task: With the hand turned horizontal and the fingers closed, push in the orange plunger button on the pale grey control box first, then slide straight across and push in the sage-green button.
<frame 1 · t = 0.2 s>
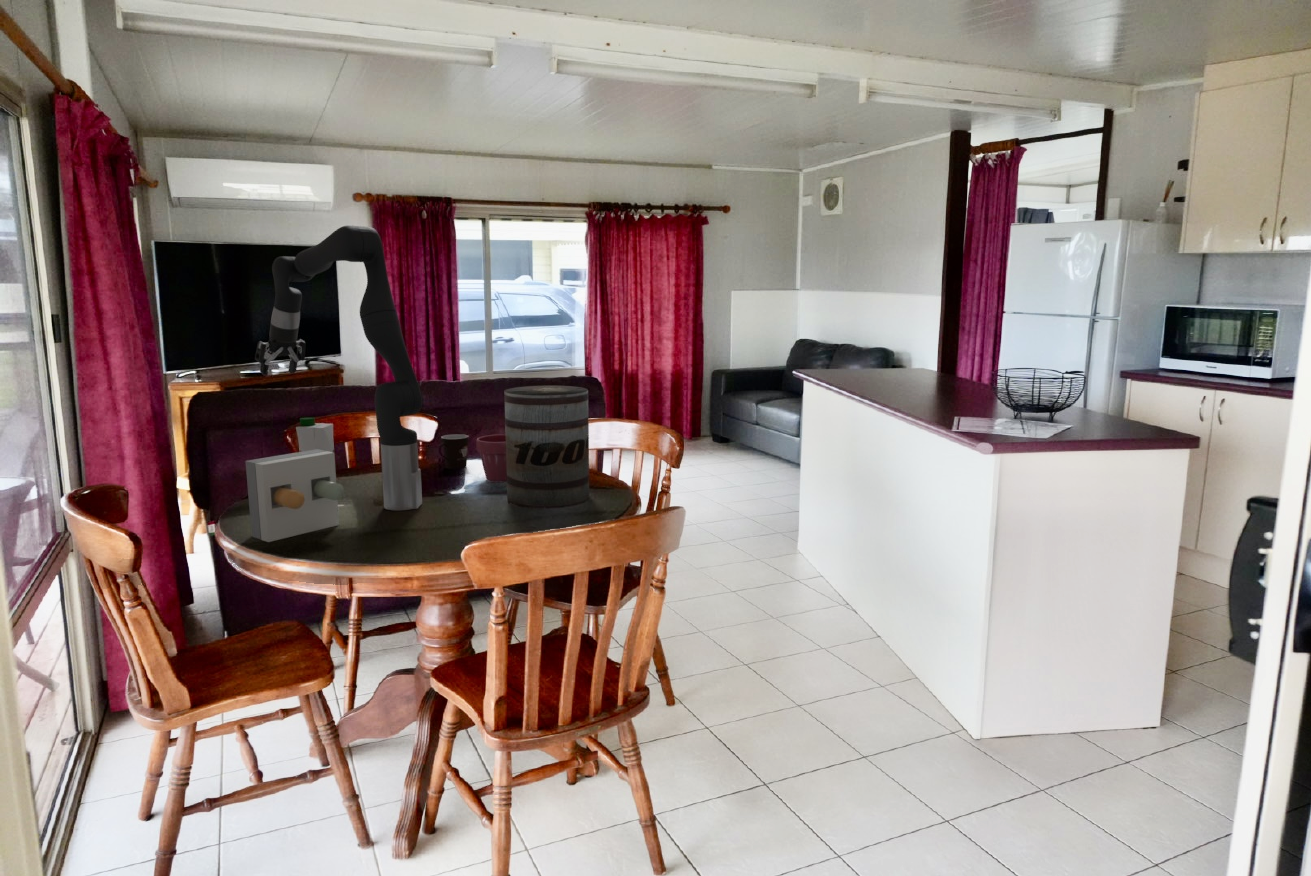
hand: (278, 373, 253), 32 cm above the table, tool tilted 20°, fingers open, 8 cm apart
button sage: (328, 490, 201), point 10 cm above the table, slide at 0.0 cm
barrel: (548, 498, 235), on the table
milk carton: (319, 486, 248), on the table
button orange: (289, 498, 193), point 10 cm above the table, slide at 0.0 cm
control box: (304, 533, 201), on the table
plant pot: (501, 479, 258), on the table
coffee mug: (451, 468, 274), on the table
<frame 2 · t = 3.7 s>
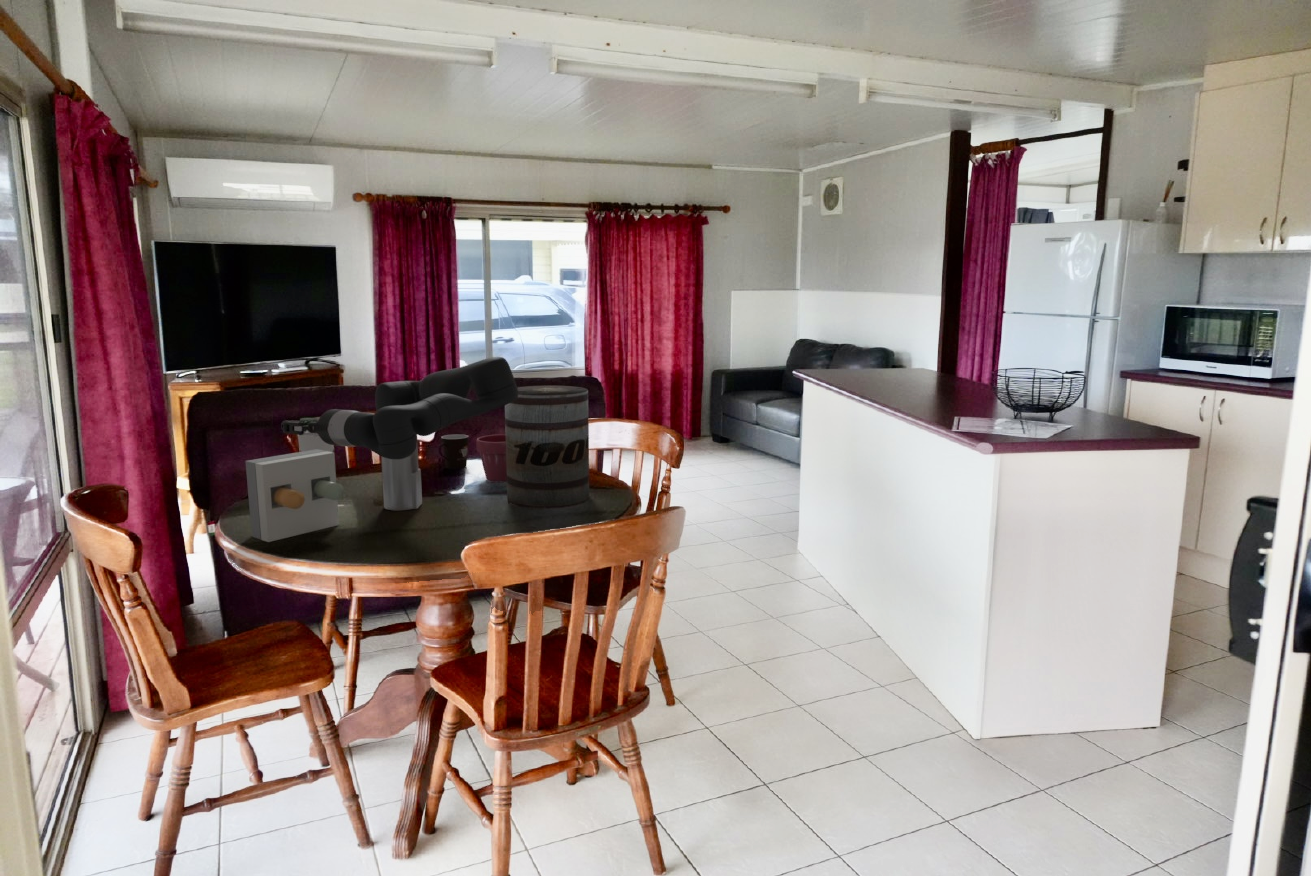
hand: (302, 424, 185), 28 cm above the table, tool horizontal, fingers open, 8 cm apart
nothing on the table moved.
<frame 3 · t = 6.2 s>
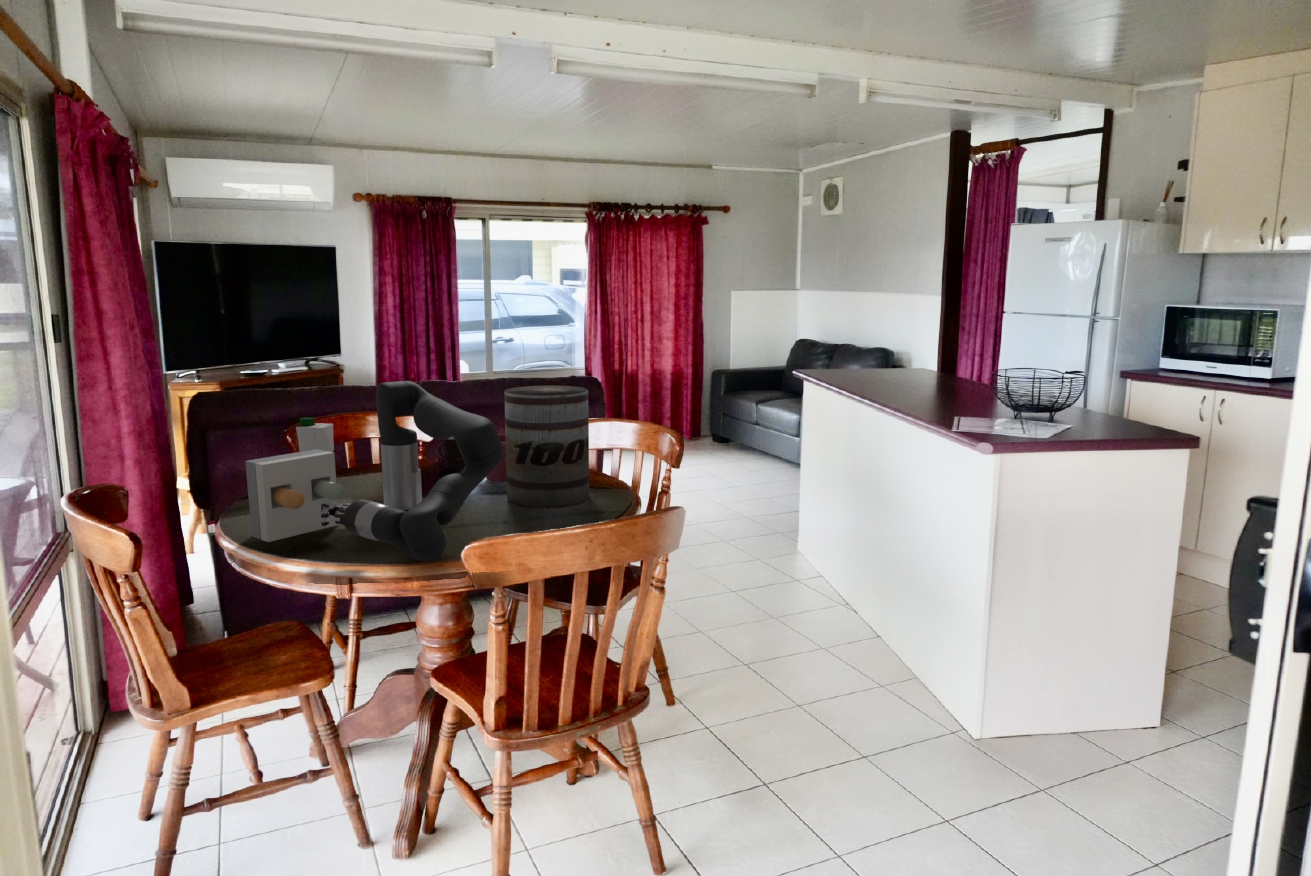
hand: (324, 507, 185), 10 cm above the table, tool horizontal, fingers closed
nothing on the table moved.
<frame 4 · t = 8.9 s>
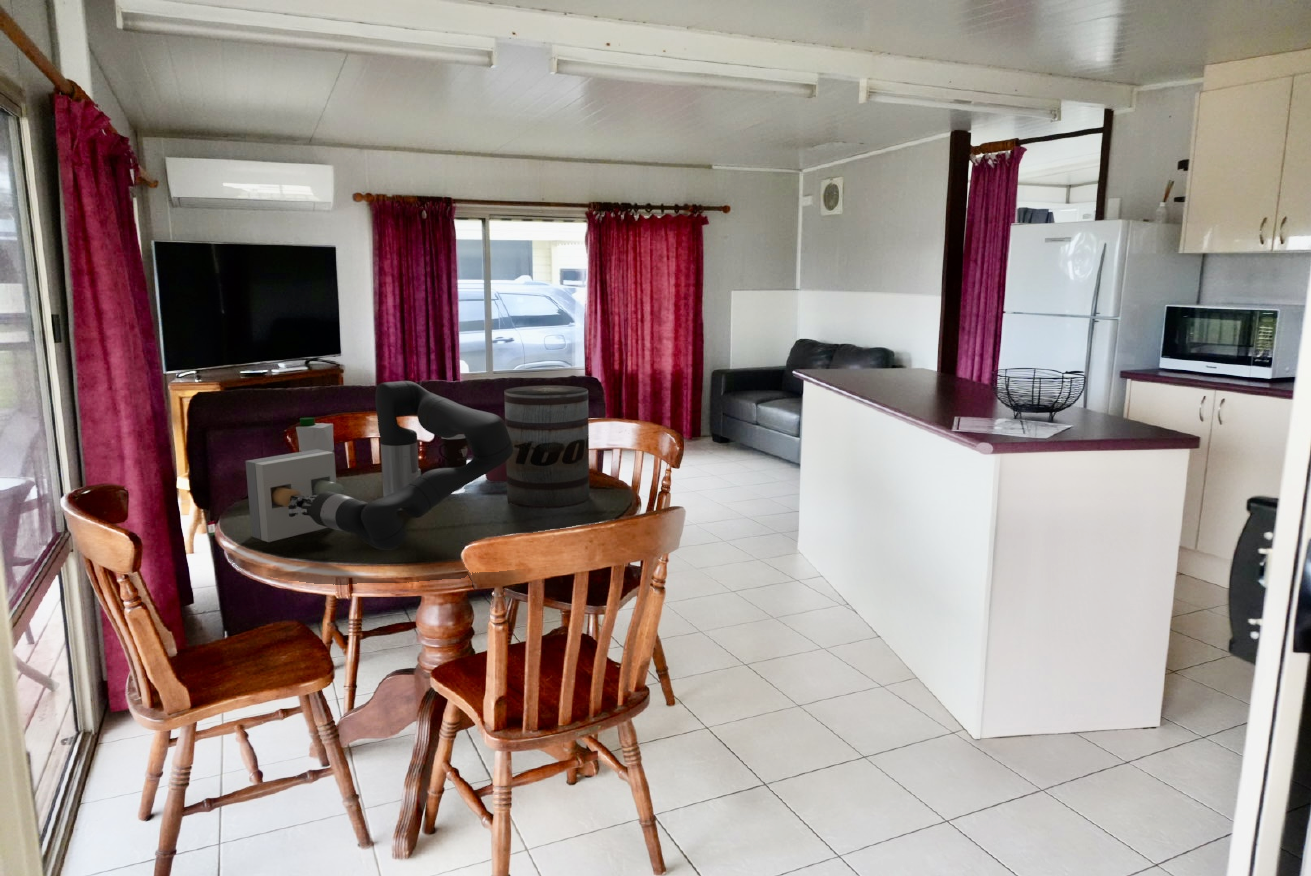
hand: (293, 499, 192), 10 cm above the table, tool horizontal, fingers closed
button orange: (286, 497, 194), point 10 cm above the table, slide at 1.2 cm, touching gripper
everything else where it was.
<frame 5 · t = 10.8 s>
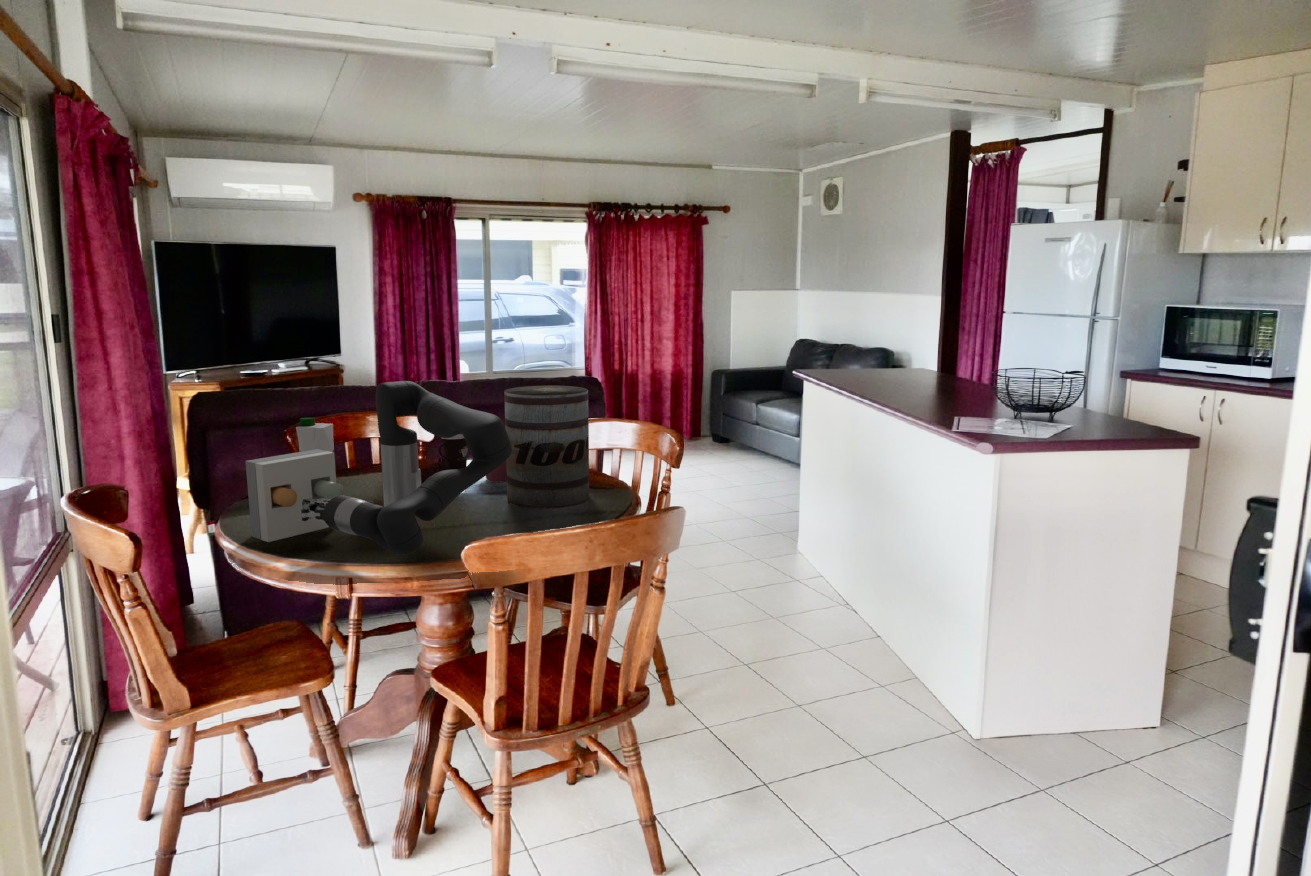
hand: (305, 503, 189), 10 cm above the table, tool horizontal, fingers closed
button orange: (281, 496, 195), point 10 cm above the table, slide at 3.1 cm
everything else where it was.
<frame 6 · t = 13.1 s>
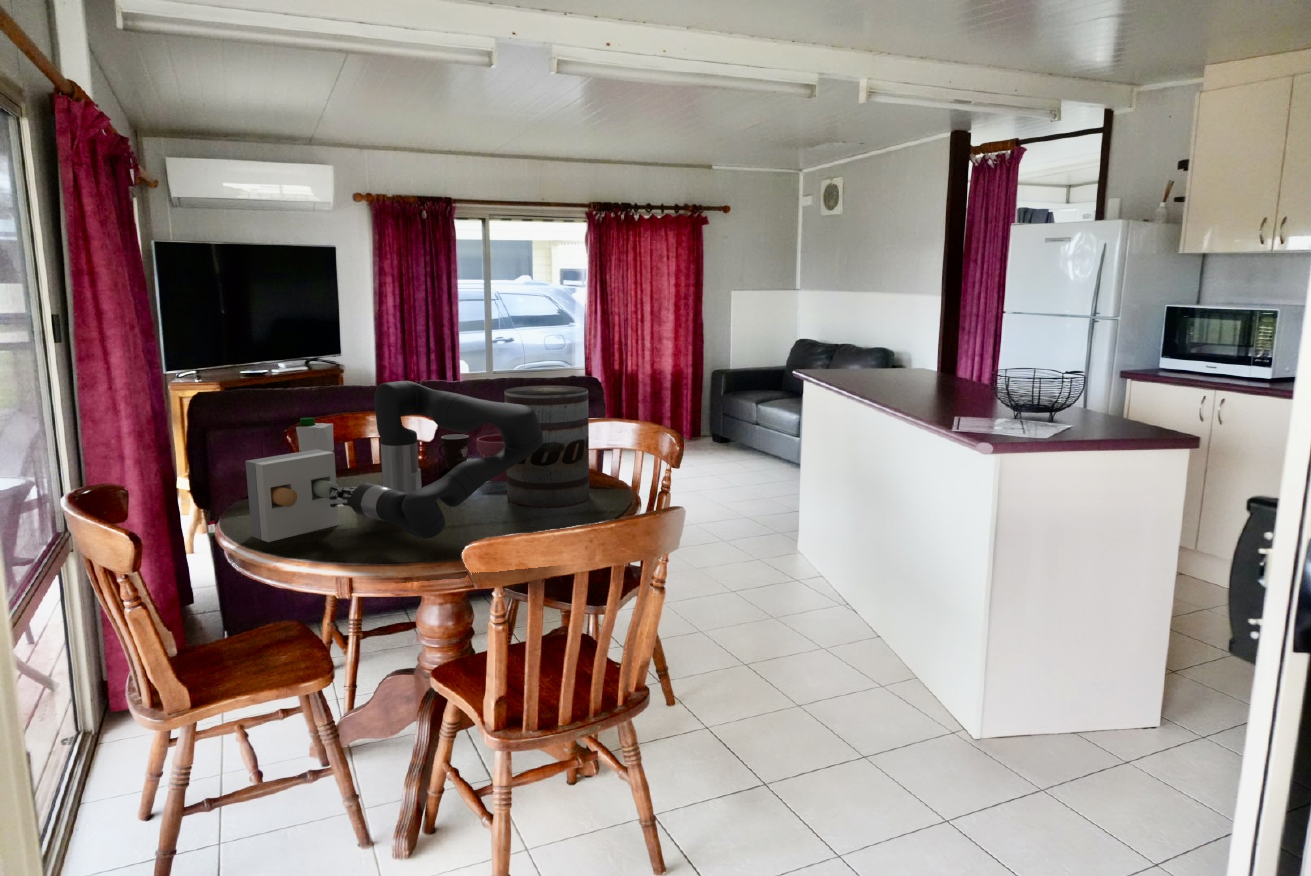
hand: (332, 490, 200), 10 cm above the table, tool horizontal, fingers closed
button sage: (325, 489, 202), point 10 cm above the table, slide at 1.5 cm, touching gripper
everything else where it was.
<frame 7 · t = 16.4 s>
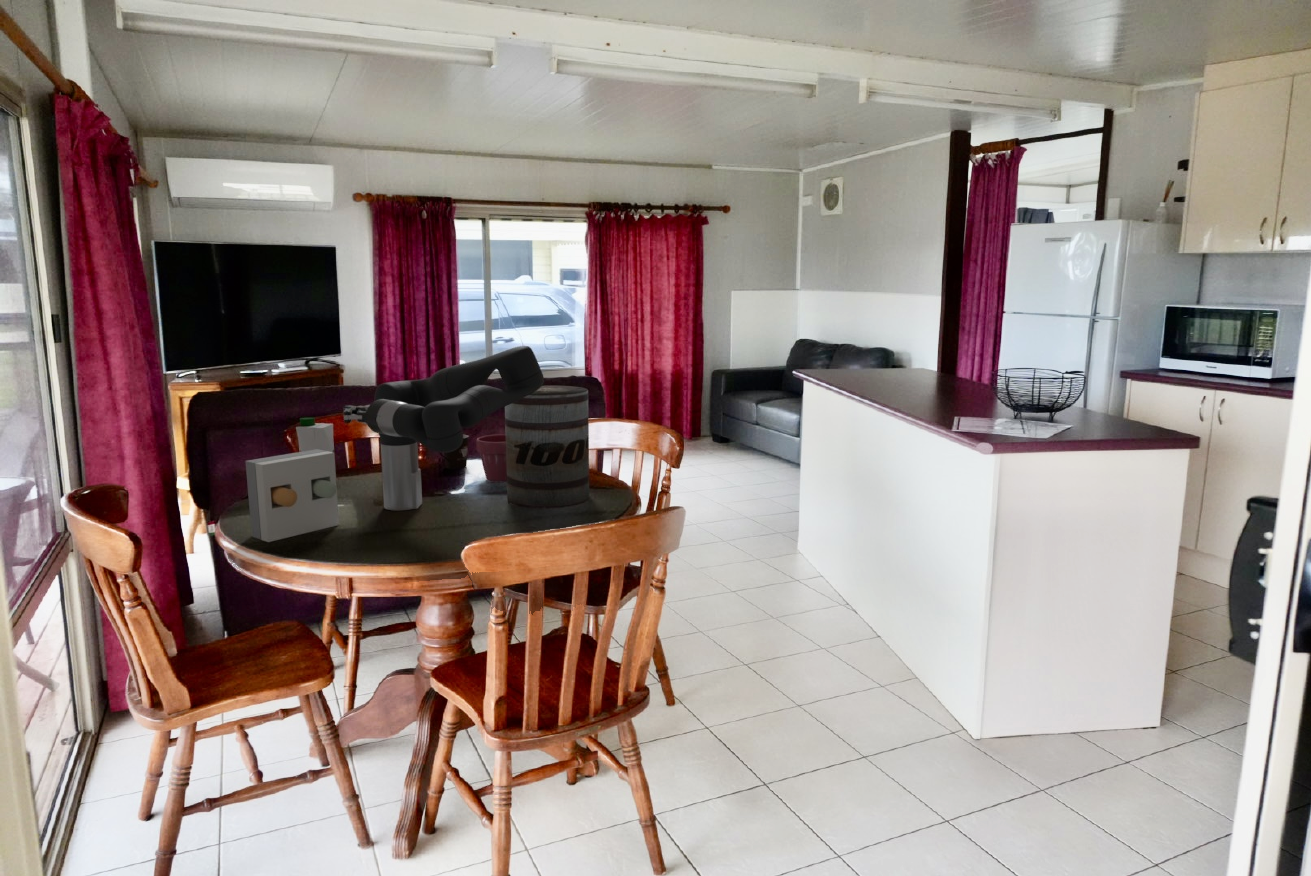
hand: (346, 410, 192), 30 cm above the table, tool horizontal, fingers closed
button sage: (321, 488, 203), point 10 cm above the table, slide at 3.1 cm
everything else where it was.
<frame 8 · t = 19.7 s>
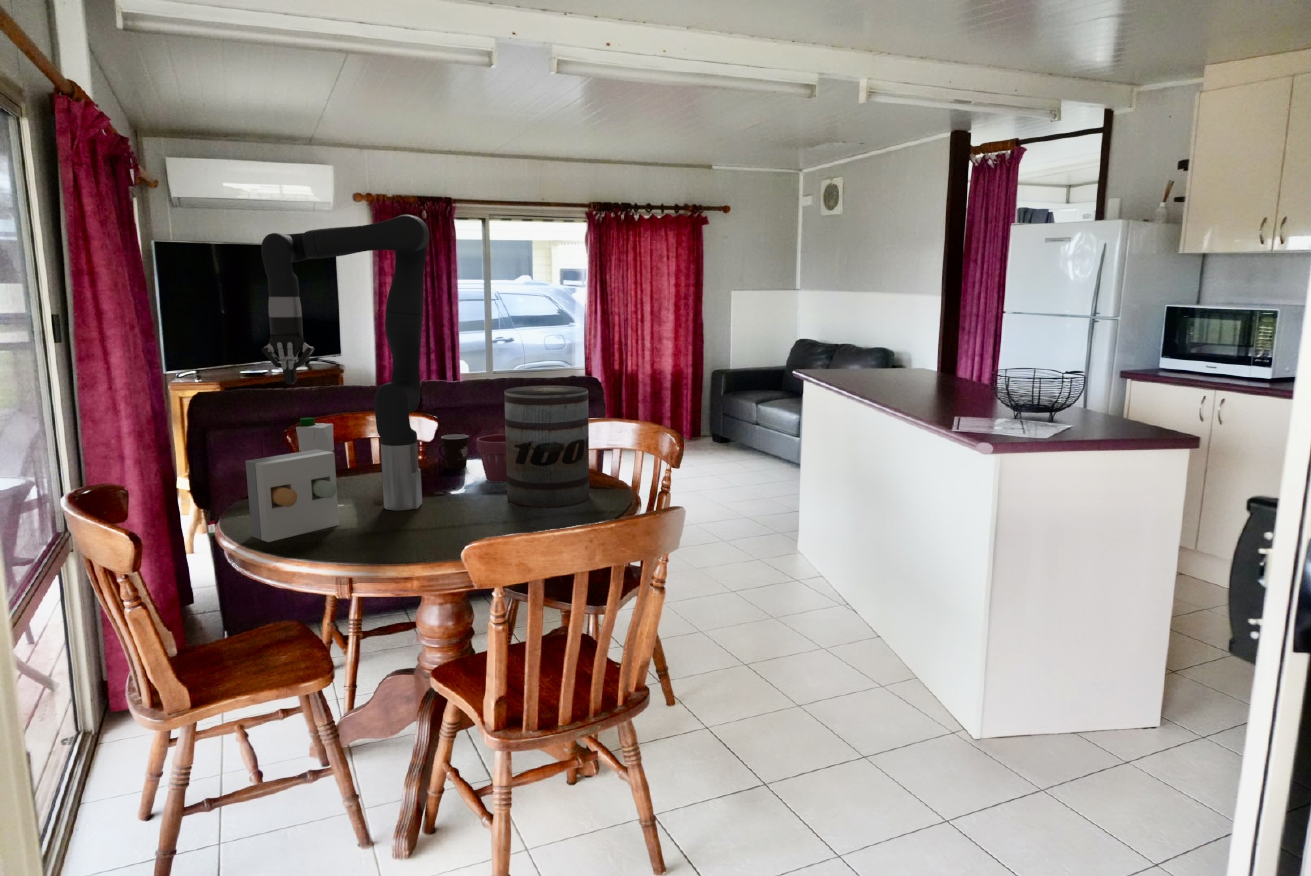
hand: (290, 383, 216), 33 cm above the table, tool pointing down, fingers closed
nothing on the table moved.
at the end: button orange slide at 3.1 cm; button sage slide at 3.1 cm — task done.
